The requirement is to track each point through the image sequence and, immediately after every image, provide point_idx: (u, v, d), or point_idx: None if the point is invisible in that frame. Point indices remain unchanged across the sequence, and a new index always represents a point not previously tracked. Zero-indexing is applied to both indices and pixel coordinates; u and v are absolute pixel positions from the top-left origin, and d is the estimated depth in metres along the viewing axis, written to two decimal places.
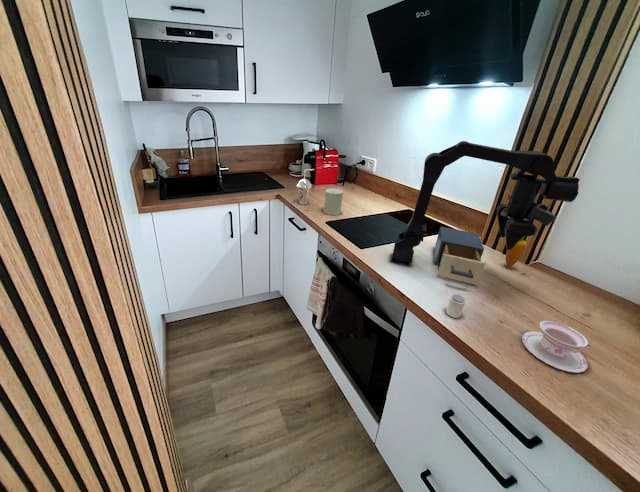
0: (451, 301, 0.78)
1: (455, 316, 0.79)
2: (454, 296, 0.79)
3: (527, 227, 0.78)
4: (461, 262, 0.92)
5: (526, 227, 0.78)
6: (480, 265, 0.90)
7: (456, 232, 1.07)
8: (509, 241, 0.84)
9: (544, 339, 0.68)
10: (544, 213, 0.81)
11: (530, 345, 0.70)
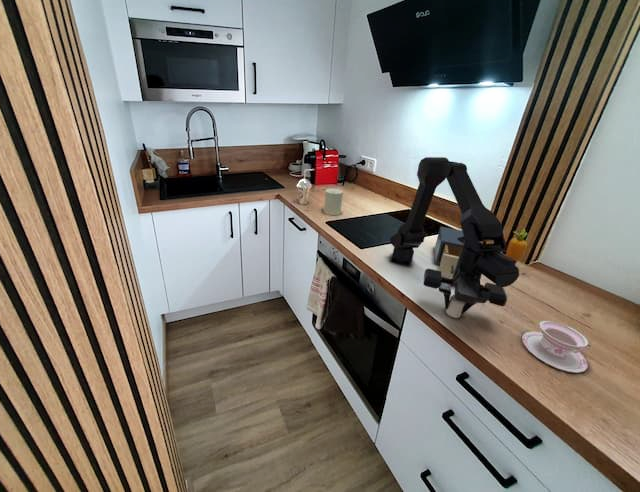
0: (451, 301, 0.78)
1: (455, 316, 0.79)
2: None
3: (425, 275, 0.80)
4: None
5: (425, 274, 0.80)
6: None
7: (456, 232, 1.07)
8: None
9: (544, 339, 0.68)
10: (457, 283, 0.72)
11: (530, 345, 0.70)
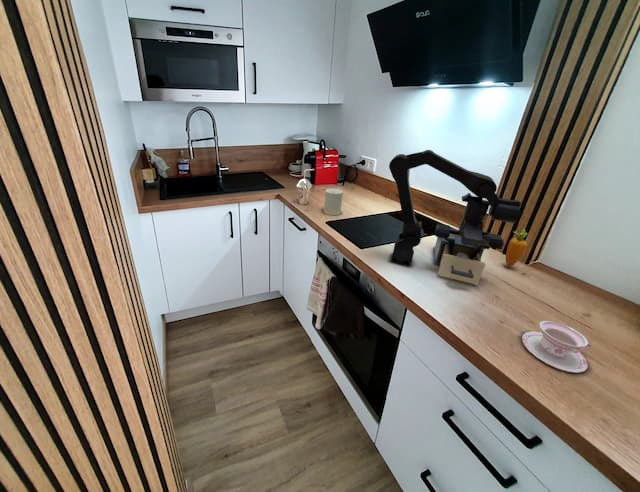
0: None
1: None
2: (460, 253, 0.96)
3: (436, 228, 0.96)
4: (461, 262, 0.92)
5: (436, 228, 0.96)
6: (480, 265, 0.90)
7: None
8: (449, 247, 0.98)
9: (544, 339, 0.68)
10: (463, 231, 0.88)
11: (530, 345, 0.70)
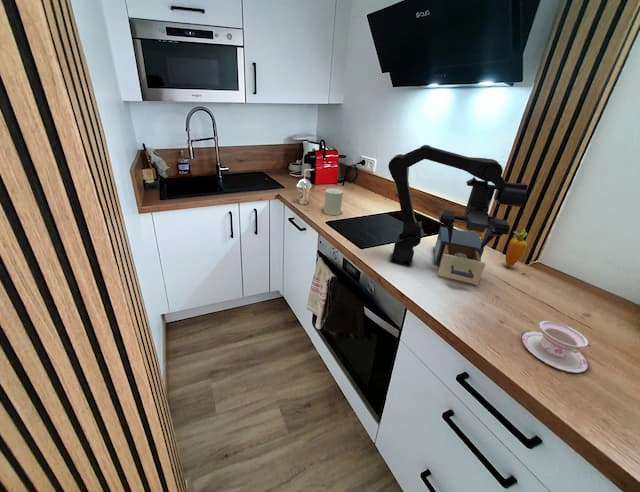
0: None
1: None
2: (458, 254, 0.97)
3: (441, 214, 0.94)
4: (461, 262, 0.92)
5: (440, 214, 0.94)
6: (480, 265, 0.90)
7: (456, 232, 1.07)
8: None
9: (544, 339, 0.68)
10: (468, 216, 0.86)
11: (530, 345, 0.70)
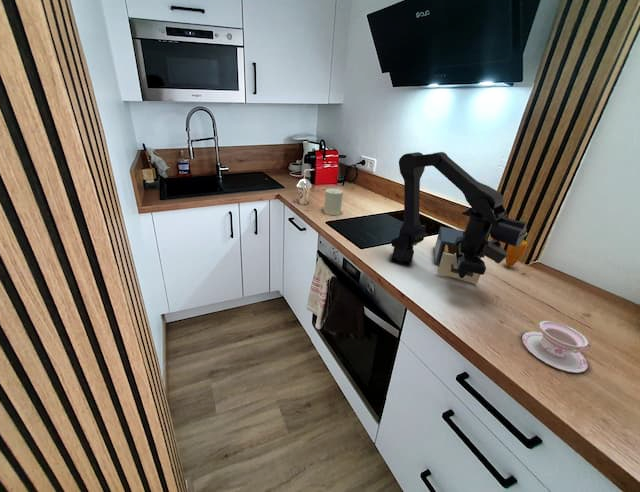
0: None
1: None
2: None
3: (476, 266, 0.78)
4: None
5: (475, 266, 0.78)
6: None
7: (456, 232, 1.07)
8: (461, 270, 0.88)
9: (544, 339, 0.68)
10: (495, 251, 0.81)
11: (530, 345, 0.70)
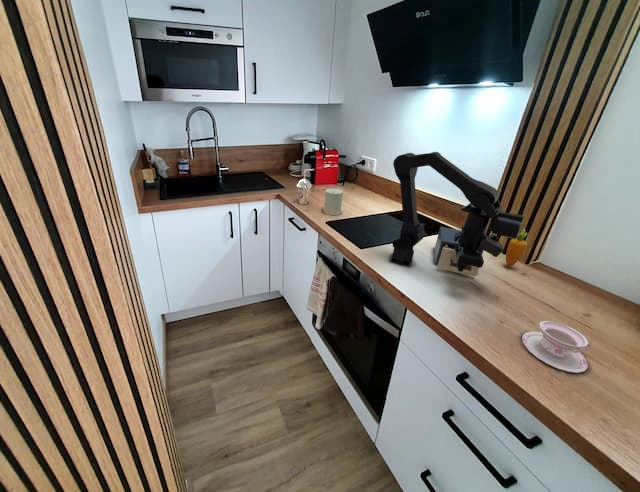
0: None
1: None
2: None
3: (474, 260, 0.81)
4: None
5: (473, 260, 0.81)
6: None
7: (456, 232, 1.07)
8: (460, 264, 0.91)
9: (544, 339, 0.68)
10: (492, 245, 0.84)
11: (530, 345, 0.70)
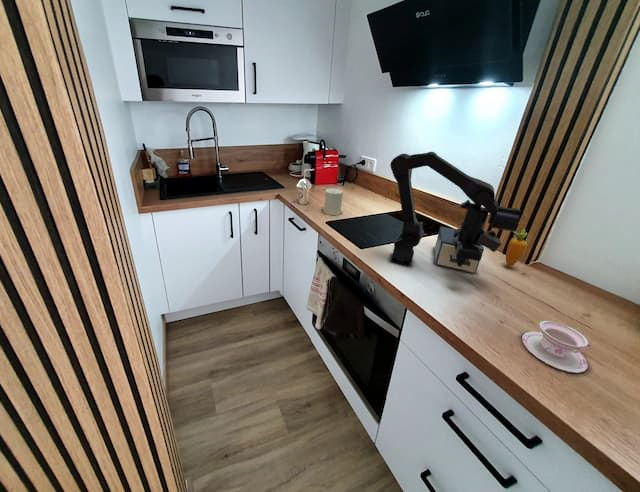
0: None
1: None
2: None
3: (473, 253, 0.84)
4: None
5: (472, 253, 0.84)
6: None
7: None
8: (459, 259, 0.94)
9: (544, 339, 0.68)
10: (490, 240, 0.87)
11: (530, 345, 0.70)
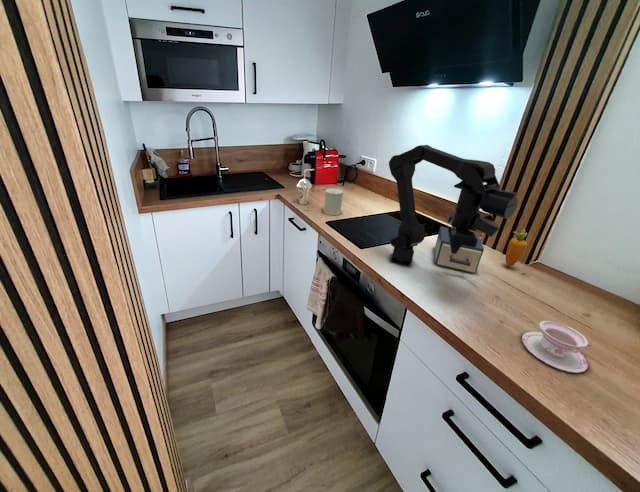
0: None
1: None
2: None
3: (468, 239, 0.76)
4: (459, 252, 0.98)
5: (467, 239, 0.76)
6: (476, 253, 0.96)
7: None
8: (453, 246, 0.86)
9: (544, 339, 0.68)
10: (487, 224, 0.79)
11: (530, 345, 0.70)
